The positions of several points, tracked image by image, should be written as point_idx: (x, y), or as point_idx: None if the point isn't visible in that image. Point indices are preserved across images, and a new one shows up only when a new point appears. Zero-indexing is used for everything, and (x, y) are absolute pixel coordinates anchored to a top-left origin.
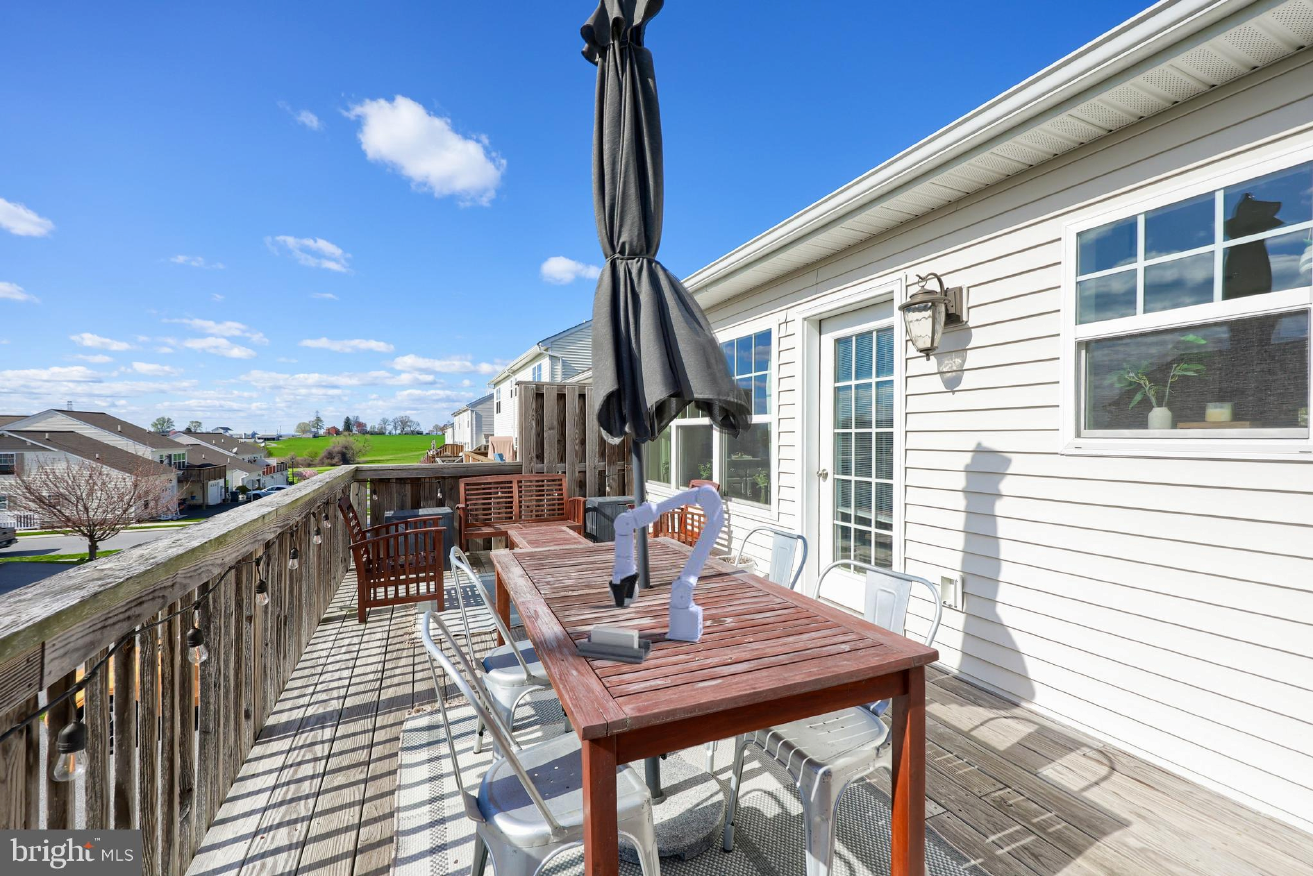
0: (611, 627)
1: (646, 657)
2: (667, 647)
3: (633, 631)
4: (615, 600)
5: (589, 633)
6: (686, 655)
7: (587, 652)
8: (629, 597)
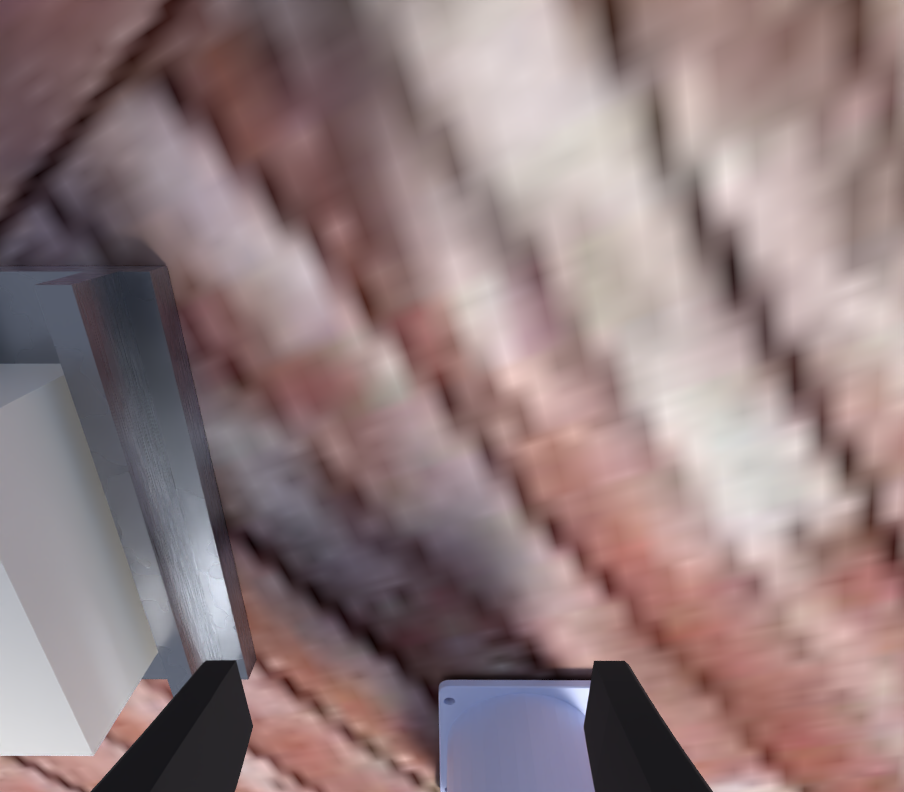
0: (4, 583)
1: None
2: (328, 706)
3: (46, 738)
4: (138, 745)
5: (65, 293)
6: (272, 781)
7: None
8: (591, 720)
